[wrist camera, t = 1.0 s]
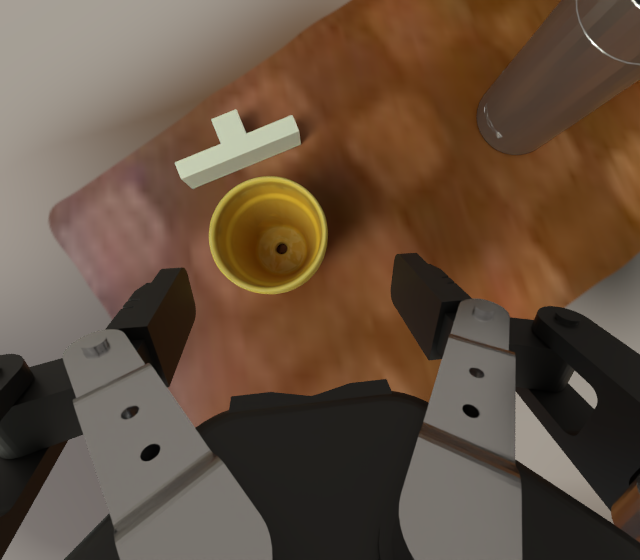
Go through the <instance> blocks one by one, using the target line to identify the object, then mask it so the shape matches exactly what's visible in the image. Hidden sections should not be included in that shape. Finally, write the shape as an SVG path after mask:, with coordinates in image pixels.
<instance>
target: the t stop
mask: <svg viewBox="0 0 640 560" xmlns="http://www.w3.org/2000/svg"><path fill="white" fill-rule="evenodd" d="M211 121H212V123H213V126H214V128H215V130H216V133H217V135H218V138H219V140H220V142H221V144H219V145H217V146H214V147H212V148H209V149H207V150H205V151H202V152H200V153H197V154H195V155H192V156H190V157H187V158H185V159H182V160H180V161H177V162H175V165H176V168H177V170H178V173H179V175H180V178H181V179H182V180H183V181H184V182H185V183H186V184H187V185H189V186H190V187H191V188H192V189H194V188H196V187H199V186H201V185H203V184H206V183H208V182H211V181H213V180H216V179H218V178H221V177H223V176H225V175H228V174H230V173H233V172H235V171H238V170H240V169H243V168H245V167H247V166H250V165H252V164H255V163H257V162H260V161H262V160H265V159H267V158H269V157H272V156H274V155H277V154H279V153H282V152H284V151H287V150H289V149H291V148H294V147H296V146H299V145H301V141H300V133H299V129H298V127H297V125H296V122H295V120H294V118H293V115H291V116H288V117H286V118H283V119H281V120H278V121H276V122H273V123H271V124H268V125H266V126H264V127H261V128H259V129H256V130H254V131H251V132H249V133H246V131H245V128H244V126H243V124H242V121H241V119H240V117H239V115H238V112H237V110H233V111H231V112H228V113H226V114H223V115H221V116H218V117H216V118H213V119H211Z"/></svg>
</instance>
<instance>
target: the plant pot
mask: <svg viewBox="0 0 640 560" xmlns="http://www.w3.org/2000/svg"><path fill="white" fill-rule="evenodd" d="M327 241H328V228H327V222H326V218H325V215H324V212H323V210H322V208H321V206H320V204H319V203H318V201H317V200H316V198H315V197H314V196H313V195H312V194H311V193H310V192H309V191H308V190H307V189H306V188H304V187H303V186H301V185H300V184H298V183H296V182H294V181H292V180H289V179H286V178H282V177H275V176H264V177H257V178H253V179H250V180H247V181H245V182H243V183H241V184H239V185H237V186H236V187H234V188H233V189H232V190H230V191H229V192H228V193H227V194H226V195H225V196H224V197H223V199H222V200H221V201H220V202H219V204H218V206H217V207H216V209H215V211H214V213H213V216H212V219H211V222H210V229H209V244H210V249H211V253H212V256H213V258H214V261H215V263H216V264H217V266H218V268H219V269H220V270H221V272H222V273H223V274H224V275H225V276H226V277H227V278H228V279H229V280H230V281H232V282H233V283H234V284H236V285H238V286H239V287H241V288H243V289H246V290H249V291H252V292H256V293H262V294H279V293H284V292H288V291H291V290H293V289H295V288H297V287H299V286H301V285H302V284H304V283H305V282H306V281H308V280H309V279H310V278H311V277H312V276H313V275H314V274H315V272H316V271H317V269H318V268H319V266H320V265H321V263H322V261H323V258H324V255H325V252H326V248H327ZM280 244H285V245H286V246H287V251H286V253H284V254H279V253H278V252H277V247H278V245H280Z"/></svg>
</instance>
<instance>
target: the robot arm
mask: <svg viewBox="0 0 640 560" xmlns="http://www.w3.org/2000/svg"><path fill="white" fill-rule="evenodd" d="M638 80H640V0H561V2H560V3H559V4H558V5H557V7H556V8H555V9H554V10H553V11H552V13H551V14H550V15H549V16H548V18H547V19H546V20H545V21H544V22H543V24H542V25H541V26H540V27H539V29H538V30H537V31H536V32H535V33H534V35H533V36H532V37H531V38H530V40H529V41H528V42H527V43H526V45H525V46H524V47H523V48H522V49H521V51H520V52H519V53H518V54H517V56H516V57H515V58H514V59H513V60H512V62H511V63H510V64H509V65H508V67H507V68H506V69H505V70H504V71H503V72H502V74H501V75H500V76H499V77H498V79H497V80H496V81H495V82H494V83H493V85H492V86H491V87H490V88H489V90H488V91H487V92H486V93H485V95H484V96H483V98H482V99H481V101H480V103H479V106H478V110H477V123H478V127H479V130H480V132H481V134H482V136H483V138H484V139H485V140H486V141H487V142H488V143H489V145H491V146H492V147H494V148H495V149H496V150H498V151H501V152H503V153H507V154H511V155H521V154H526V153H529V152H532V151H534V150H536V149H537V148H539V147H540V146H542V145H543V144H545V143H546V142H548V141H549V140H551V139H552V138H554V137H555V136H557V135H558V134H560V133H561V132H563V131H564V130H566V129H567V128H569V127H570V126H572V125H573V124H575V123H576V122H578V121H579V120H581V119H582V118H584V117H585V116H587V115H588V114H589V113H591V112H592V111H594V110H595V109H597V108H598V107H600V106H601V105H603V104H604V103H606V102H607V101H609V100H610V99H612V98H613V97H615V96H616V95H617V94H619V93H620V92H622V91H623V90H625V89H626V88H628V87H629V86H631V85H632V84H634V83H635V82H637V81H638ZM391 298H392V302H393V304H394V306H395V307H396V309H397V310H398V312H399V314H400V315H401V317H402V318H403V320H404V322H405V323H406V325H407V326H408V328H409V330H410V331H411V333H412V334H413V336H414V338H415V339H416V341H417V342H418V344H419V346H420V347H421V349H422V350H423V352H424V354H425V355H426V357H427V358H428V360H436V359H442V361H441V365H440V368H439V371H438V375H437V378H436V381H435V385H434V388H433V391H432V395H431V398H430V401H429V403H428V402H426V401H424V400H422V399H419V398H417V397H415V396H411V395H408V394H405V393H400V392H395V391H391V389H390V387H389V384H388V382H387V380H386V379H384V380H375V381H366V382H357V383H349V384H346V385H344V386H341V387H338V388H335V389H332V390H329V391H326V392H323V393H320V394H318V395H314V396H304V395H294V394H284V393H274V392H268V393H259V394H250V395H241V396H233V397H231V402H230V408H229V410H228V411H225V412H222V413H220V414H218V415H216V416H214V417H212V418H210V419H208V420H207V421H205V422H203V423H202V424H200V425H199V426H197V427H196V428H195V427H194V426H193V424H192V423H191V422H190V420H189V419H188V417H187V416H186V414H185V413H184V411H183V410H182V409H181V407H180V406H179V404H178V403H177V401H176V400H175V399H174V397H173V396H172V394H171V393H170V391H169V390H168V388H167V387H169V386H170V383H171V381H172V378H173V375H174V373H175V370H176V368H177V365H178V362H179V360H180V357H181V354H182V352H183V349H184V347H185V344H186V341H187V339H188V336H189V333H190V331H191V328H192V326H193V323H194V320H195V315H196V308H195V302H194V298H193V294H192V290H191V286H190V282H189V278H188V274H187V272H186V270H185V268H169V269H161V270H160V271H159V273H158V274H157V276H156V277H155V278H154V280H153V281H152V282H151V283H146V284H145V285H143V286H142V287H140V288H139V289H137V290H136V291H135V292H134V293H133V294H132V296H131V297H130V298H129V299H128V301H127V302H126V303H125V305H124V306H123V309H121V310H120V311H119V312H118V314H117V315H116V316H115V317H114V319H113V320H112V321H111V323H110V324H109V325H108V327H107V328H106V329H105V330H101V331H97V332H93V333H91V334H88V335H86V336H83V337H82V338H80V339H78V340H76V341H75V342H73V343H72V344H71V345H70V346H69V347H68V348H67V349H66V350H65V352H64V353H63V358H61V359H58V360H55V361H51V362H47V363H43V364H40V365H36V366H33V367H28V365H27V364H26V362H25V361H24V359H23V358H22V357H21V356H20V355H16V354H6V355H0V560H1V559H2V557H3V555H4V554H5V552H6V550H7V548H8V546H9V545H10V543H11V541H12V539H13V538H14V536H15V534H16V532H17V530H18V529H19V527H20V525H21V523H22V522H23V520H24V518H25V516H26V514H27V513H28V511H29V509H30V507H31V506H32V504H33V502H34V500H35V498H36V497H37V495H38V493H39V491H40V489H41V488H42V486H43V484H44V482H45V480H46V479H47V477H48V475H49V473H50V471H51V470H52V468H53V466H54V465H55V463H56V461H57V459H58V457H59V456H60V454H61V452H62V450H63V448H64V447H65V445H66V443H67V441H68V440H69V439H72V438H75V437H77V436H80V435H84V438H85V441H86V444H87V447H88V450H89V453H90V456H91V459H92V462H93V465H94V468H95V471H96V474H97V477H98V480H99V483H100V486H101V489H102V492H103V495H104V498H105V501H106V504H107V507H108V510H109V514H108V515H107V516H106V517H105V518H104V519H103V521H101V523H99V524H98V525H97V526H96V527H95V528H94V530H92V532H90V534H89V535H88V536H87V537H86V538H85V539H84V540H83V541H82V542H81V543H80V544H79V545H78V546H77V547H76V548H75V549H74V550H73V551H72V552H71V553H70V554H69V555H68V556H67V557H66V558H65V559H64V560H640V354H638V353H637V352H635V351H634V350H632V349H631V348H630V347H628V346H627V345H625V344H624V343H623V342H621V341H620V340H618V339H617V338H615V337H614V336H612V335H611V334H610V333H608V332H607V331H605V330H604V329H603V328H601V327H599V326H598V325H597V324H595V323H594V322H593V321H591V320H590V319H588V318H587V317H585V316H583V315H581V314H579V313H577V312H574V311H572V310H569V309H565V308H561V307H553V306H547V307H542V308H540V309H539V310H538V312H537V314H536V317H535V319H534V320H528V319H519V318H510V316H509V313H508V312H507V311H506V310H505V309H504V308H503V307H501V306H499V305H498V304H495V303H493V302H490V301H487V300H483V299H472V298H471V297H470V296H469V295H468V294H467V293H466V292H464V291H463V290H462V289H461V288H460V287H459V286H458V285H457V284H456V283H454V281H453V280H452V279H451V278H448V276H447V275H446V274H445V273H444V272H443V271H442V270H441V269H439V268H437V267H435V266H433V265H431V264H427V263H426V262H425V261H424V260H423V259H422V258H421V257H420V256H419V255H418V254H417V253H407V254H397V255H396V256H395V260H394V267H393V275H392V283H391ZM574 371H576V372H577V373H578V374H579V375H580V376H582V377H583V378H584V379H585V380H586V381H587V382H588V383H589V384H590V385H591V386H592V387H593V388H594V390H595V392H596V394H597V398H598V403H597V406H596V408H595V409H593V408H592V407H591V406H590V405H589V404H588V403H587V402H586V401H585V400H584V399H583V398H582V397H581V396H580V395H579V394H578V393H577V392H576V391H575V390H574V389H573V388H572V387H571V386H570V385H569V384H568V381H569V380H570V377H571V376H572V374H573V372H574ZM515 391H516V392H517V393H518V394H519V396H520V397H521V398H522V400H523V401H524V402H525V403H526V405H527V406H528V407H529V408H530V410H531V411H532V412H533V414H534V415H535V416H536V417H537V419H538V420H539V421H540V422H541V424H542V425H543V426H544V427H545V429H546V430H547V431H548V433H549V434H550V435H551V436H552V438H553V439H554V440H555V441H556V443H557V444H558V445H559V446H560V448H561V449H562V450H563V451H564V453H565V454H566V455H567V457H568V458H569V459H570V460H571V462H572V463H573V464H574V465H575V467H576V468H577V469H578V470H579V472H580V473H581V474H582V475H583V477H584V478H585V479H586V481H587V482H588V483H589V484H590V486H591V487H592V488H593V489H594V491H595V492H596V493H597V494H598V496H599V497H600V498H601V500H602V501H603V502H604V503H605V505H606V506H607V507H608V508H609V509H610V511H611V515H612V519H613V522H614V524H612V523H611V522H609V521H607V520H606V519H605V518H603V517H602V516H600V515H599V514H597V513H596V512H594V511H593V510H591V509H590V508H588V507H587V506H585V505H584V504H582V503H581V502H579V501H577V500H576V499H574V498H573V497H571V496H570V495H568V494H567V493H565V492H564V491H562V490H561V489H559V488H558V487H556V486H555V485H553V484H552V483H550V482H548V481H547V480H546V479H544V478H543V477H541V476H540V475H538V474H536V473H535V472H533V471H532V470H530V469H529V468H527V467H526V466H524V465H523V464H521V463H520V462H518V461H517V460H515Z"/></svg>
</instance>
